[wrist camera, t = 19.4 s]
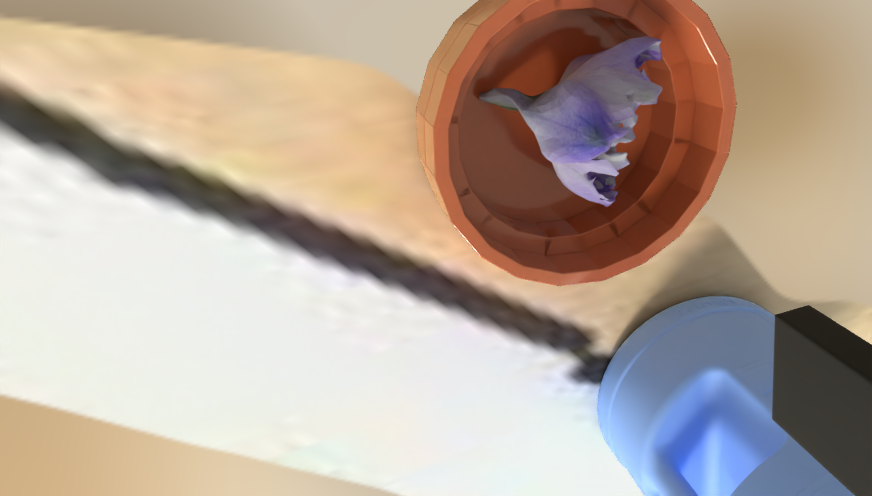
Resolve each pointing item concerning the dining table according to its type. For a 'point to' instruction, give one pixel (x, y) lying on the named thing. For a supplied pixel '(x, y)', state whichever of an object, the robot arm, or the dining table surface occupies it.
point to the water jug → (704, 407)
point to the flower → (589, 115)
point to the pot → (535, 175)
